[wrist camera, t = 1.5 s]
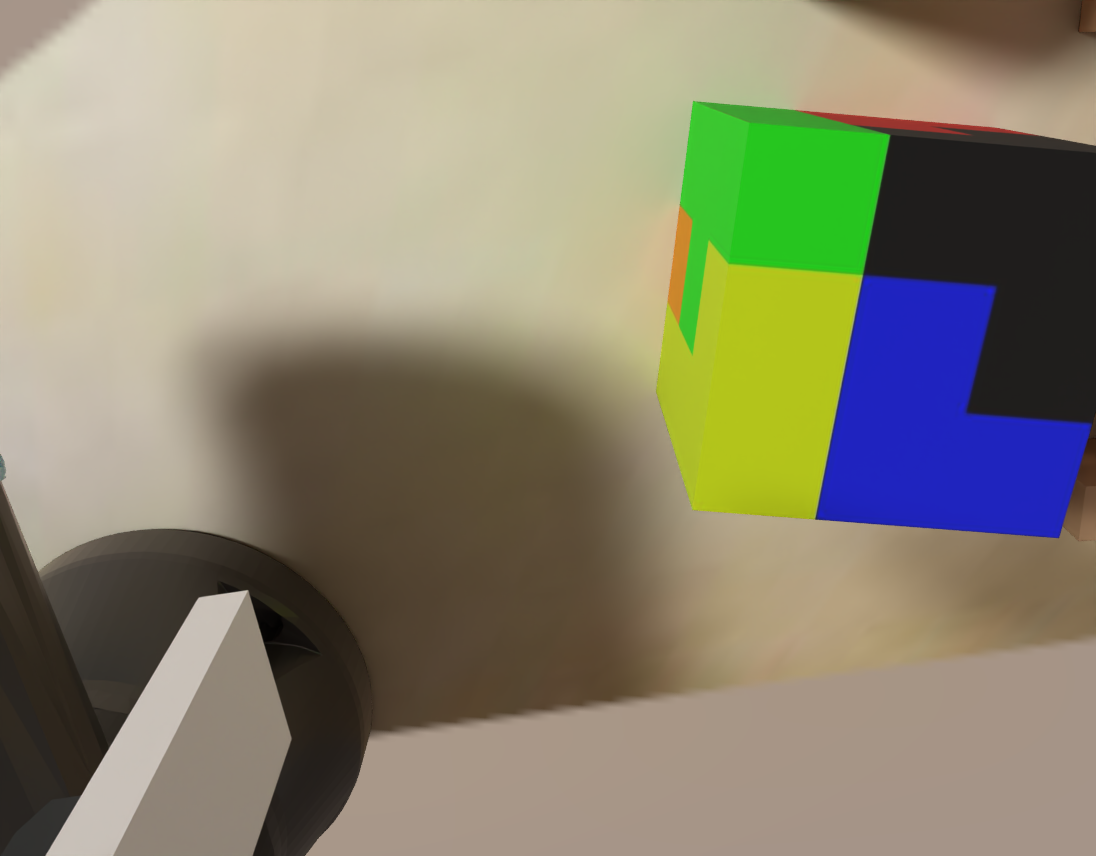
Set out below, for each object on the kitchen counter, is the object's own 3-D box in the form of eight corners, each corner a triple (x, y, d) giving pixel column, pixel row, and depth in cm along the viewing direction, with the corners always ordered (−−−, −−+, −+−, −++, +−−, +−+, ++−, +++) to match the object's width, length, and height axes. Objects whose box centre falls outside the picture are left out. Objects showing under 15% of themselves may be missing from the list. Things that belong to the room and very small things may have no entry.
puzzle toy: (929, 412, 37) (1059, 538, 27) (656, 390, 36) (692, 510, 27) (994, 127, 33) (1169, 159, 24) (692, 100, 33) (749, 122, 24)
